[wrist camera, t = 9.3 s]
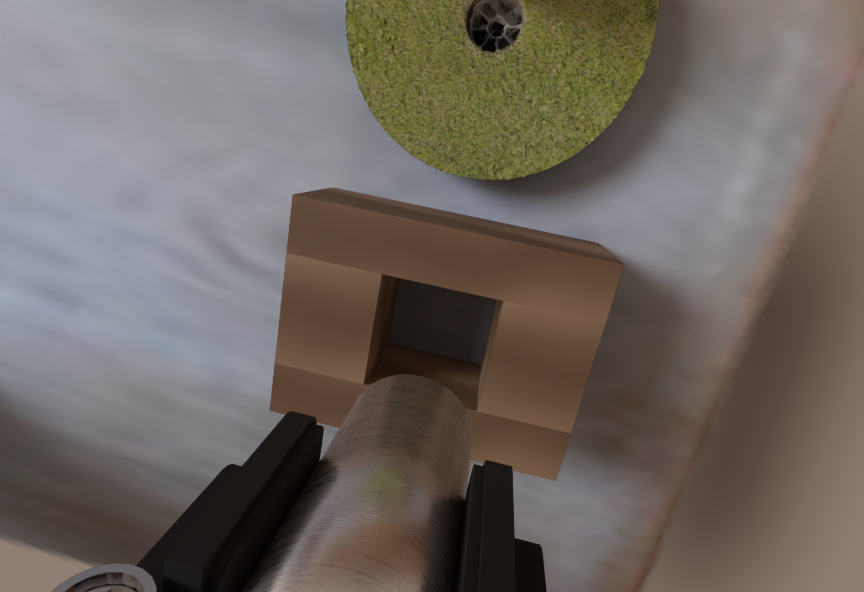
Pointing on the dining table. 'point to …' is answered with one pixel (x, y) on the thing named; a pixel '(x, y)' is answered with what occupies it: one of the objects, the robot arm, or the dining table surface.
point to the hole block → (453, 269)
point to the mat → (498, 76)
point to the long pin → (379, 499)
